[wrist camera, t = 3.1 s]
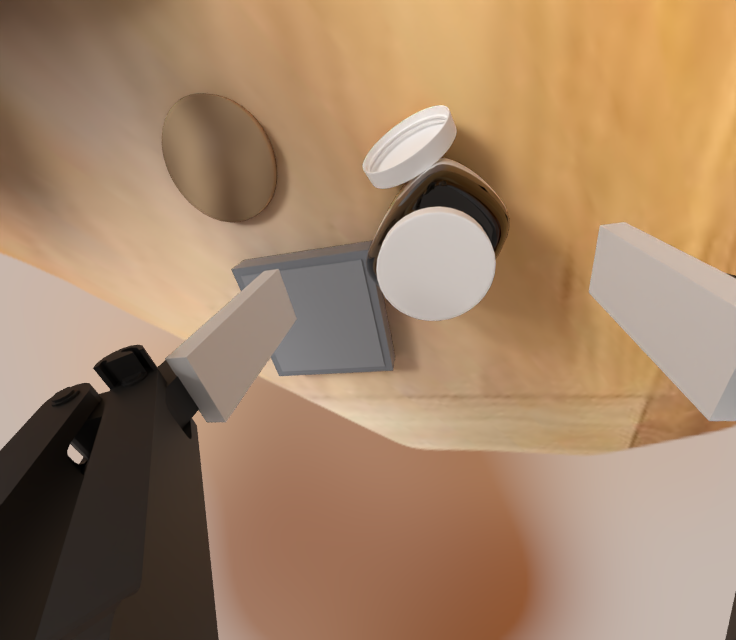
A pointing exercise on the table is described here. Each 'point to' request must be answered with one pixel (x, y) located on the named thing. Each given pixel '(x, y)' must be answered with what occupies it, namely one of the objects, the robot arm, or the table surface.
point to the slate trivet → (328, 311)
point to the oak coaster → (219, 157)
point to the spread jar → (432, 221)
